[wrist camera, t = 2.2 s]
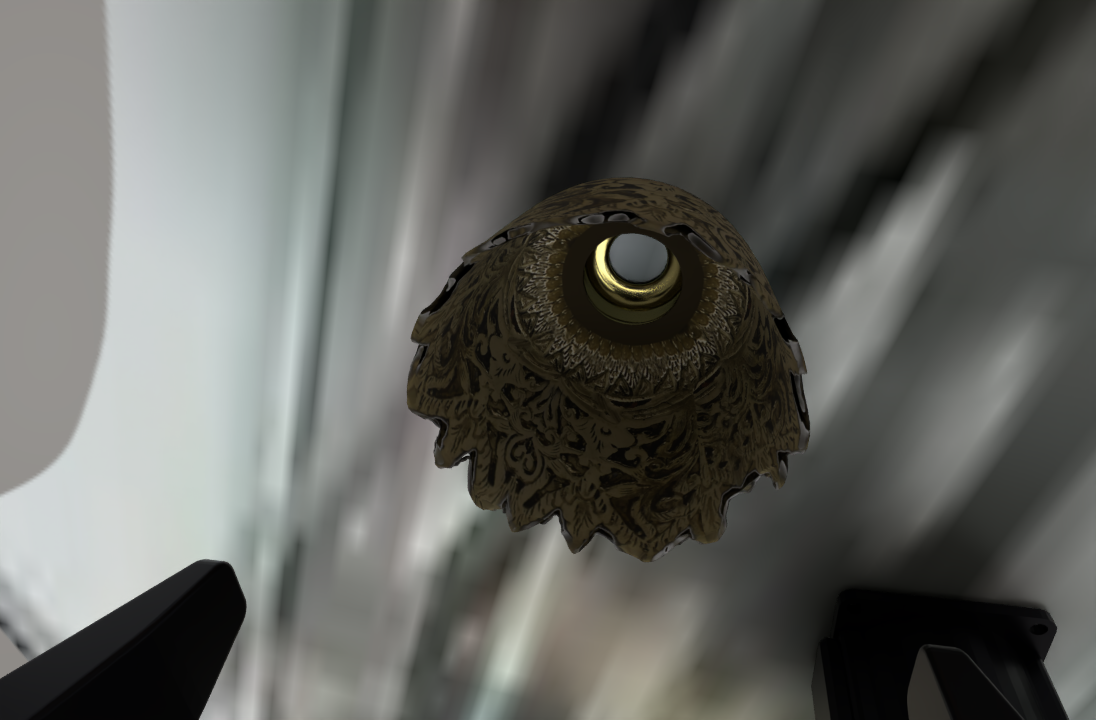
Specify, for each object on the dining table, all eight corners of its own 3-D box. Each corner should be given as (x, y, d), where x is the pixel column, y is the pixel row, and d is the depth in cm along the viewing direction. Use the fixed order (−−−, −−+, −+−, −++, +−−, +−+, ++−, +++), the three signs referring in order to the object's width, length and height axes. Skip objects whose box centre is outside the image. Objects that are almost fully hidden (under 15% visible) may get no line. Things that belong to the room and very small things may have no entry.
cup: (647, 412, 22) (615, 615, 15) (462, 264, 21) (339, 415, 14) (839, 246, 18) (908, 419, 12) (626, 54, 17) (565, 121, 10)
